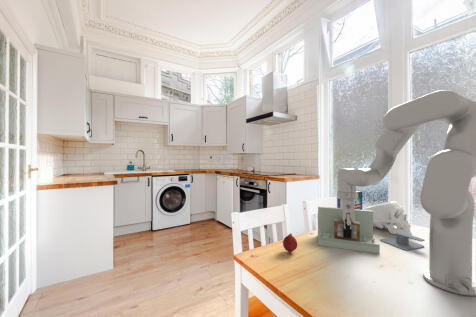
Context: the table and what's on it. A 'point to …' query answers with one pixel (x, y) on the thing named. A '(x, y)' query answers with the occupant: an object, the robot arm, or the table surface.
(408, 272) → the table surface
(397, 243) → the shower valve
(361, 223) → the ledge
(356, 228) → the frame
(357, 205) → the beverage box
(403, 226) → the skull planter
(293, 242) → the onion
